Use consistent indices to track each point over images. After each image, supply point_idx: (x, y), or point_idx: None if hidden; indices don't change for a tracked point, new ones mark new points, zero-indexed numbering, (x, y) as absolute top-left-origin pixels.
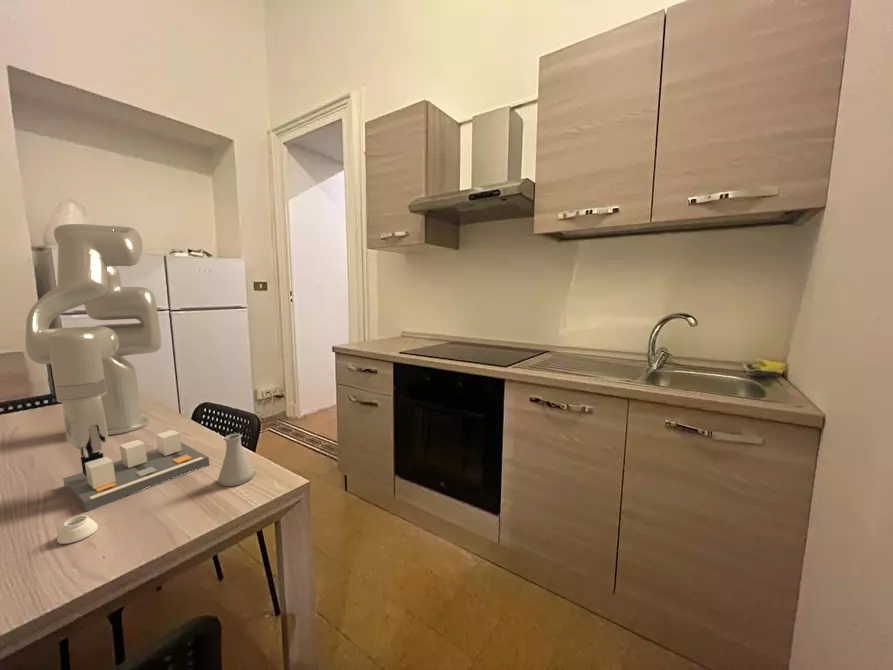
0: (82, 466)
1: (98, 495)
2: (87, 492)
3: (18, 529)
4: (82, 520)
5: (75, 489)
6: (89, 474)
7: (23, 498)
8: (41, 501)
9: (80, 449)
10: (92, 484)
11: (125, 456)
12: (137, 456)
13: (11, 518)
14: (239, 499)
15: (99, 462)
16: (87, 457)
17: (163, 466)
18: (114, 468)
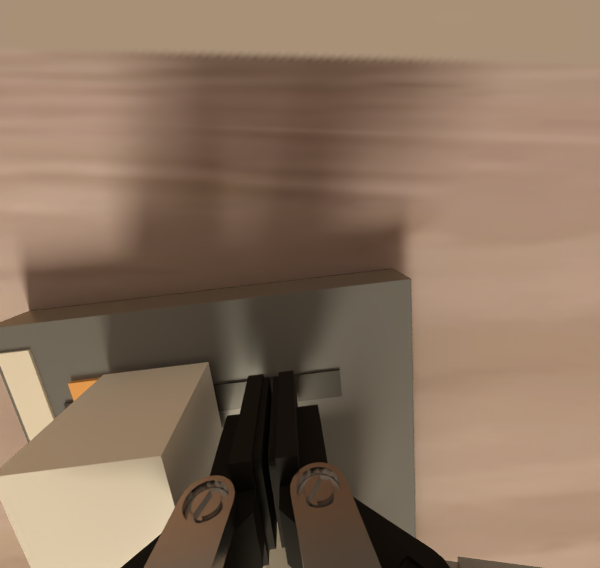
0: (286, 400)
1: (15, 381)
2: (104, 348)
3: (46, 90)
4: None
5: (191, 311)
6: (100, 418)
7: (416, 121)
8: (303, 182)
9: (336, 525)
10: (97, 387)
11: (279, 564)
12: None
13: (205, 69)
14: None
15: (84, 526)
16: (189, 503)
17: None
18: (327, 456)
